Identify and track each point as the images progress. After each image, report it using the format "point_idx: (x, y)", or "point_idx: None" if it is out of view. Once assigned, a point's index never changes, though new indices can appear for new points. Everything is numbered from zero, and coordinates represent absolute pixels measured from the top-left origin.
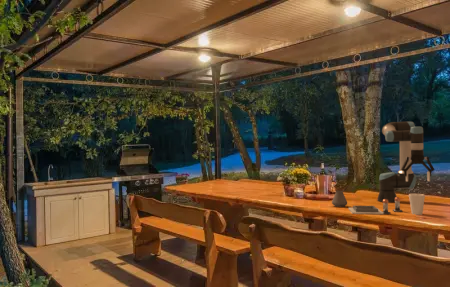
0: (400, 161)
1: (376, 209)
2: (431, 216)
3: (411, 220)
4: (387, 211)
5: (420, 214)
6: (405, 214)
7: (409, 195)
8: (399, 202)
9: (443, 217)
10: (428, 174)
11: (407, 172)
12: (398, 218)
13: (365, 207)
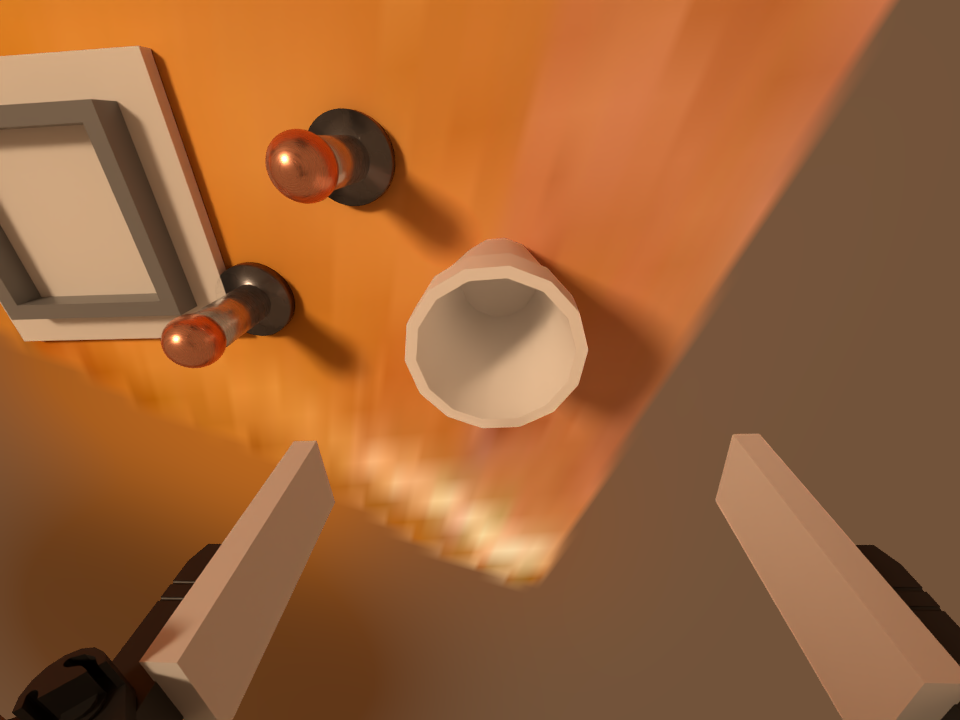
0: None
1: (169, 315)
2: None
3: (412, 487)
4: (262, 318)
5: (515, 312)
6: (404, 308)
7: (409, 360)
8: (339, 183)
9: (642, 390)
10: (809, 639)
11: (225, 705)
12: (345, 445)
13: (31, 126)
